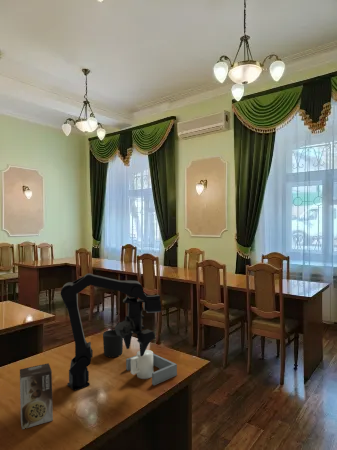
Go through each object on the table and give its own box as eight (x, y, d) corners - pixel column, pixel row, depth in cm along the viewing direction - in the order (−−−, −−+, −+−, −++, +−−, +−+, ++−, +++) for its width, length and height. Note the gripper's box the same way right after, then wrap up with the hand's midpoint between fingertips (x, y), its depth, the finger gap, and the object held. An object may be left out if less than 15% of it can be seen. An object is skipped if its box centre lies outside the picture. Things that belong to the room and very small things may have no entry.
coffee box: (50, 410, 107) (49, 362, 107) (53, 421, 101) (52, 370, 101) (20, 418, 103) (19, 368, 103) (21, 430, 97) (20, 377, 97)
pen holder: (126, 351, 156) (126, 330, 156) (117, 359, 147) (116, 337, 147) (109, 348, 159) (109, 328, 159) (99, 356, 150) (99, 335, 150)
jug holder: (154, 385, 123) (153, 373, 123) (126, 369, 137) (126, 359, 137) (176, 375, 131) (176, 364, 131) (148, 361, 145) (148, 351, 145)
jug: (146, 369, 137) (146, 348, 137) (156, 375, 132) (156, 353, 132) (127, 377, 130) (126, 355, 130) (137, 383, 125) (137, 360, 125)
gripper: (104, 312, 130) (104, 350, 130) (132, 322, 116) (132, 365, 116) (127, 307, 137) (127, 343, 137) (156, 316, 124) (155, 357, 124)
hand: (134, 352), depth 128 cm, fingers open, 9 cm apart
